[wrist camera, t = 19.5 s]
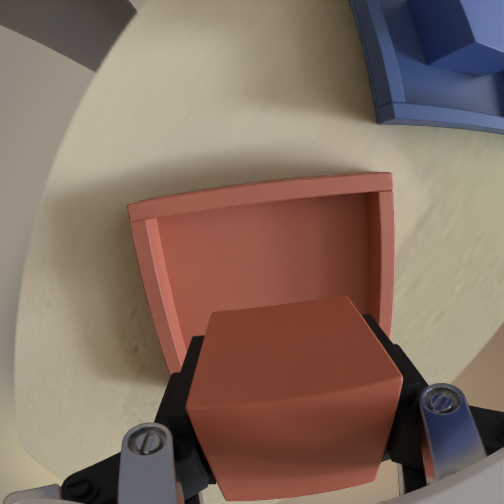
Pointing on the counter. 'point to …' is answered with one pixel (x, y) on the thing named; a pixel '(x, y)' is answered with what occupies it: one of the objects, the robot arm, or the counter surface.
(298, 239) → the terracotta tray
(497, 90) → the blue tray
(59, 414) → the counter surface
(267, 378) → the terracotta block
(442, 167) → the counter surface
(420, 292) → the counter surface
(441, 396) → the robot arm
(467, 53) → the blue block
